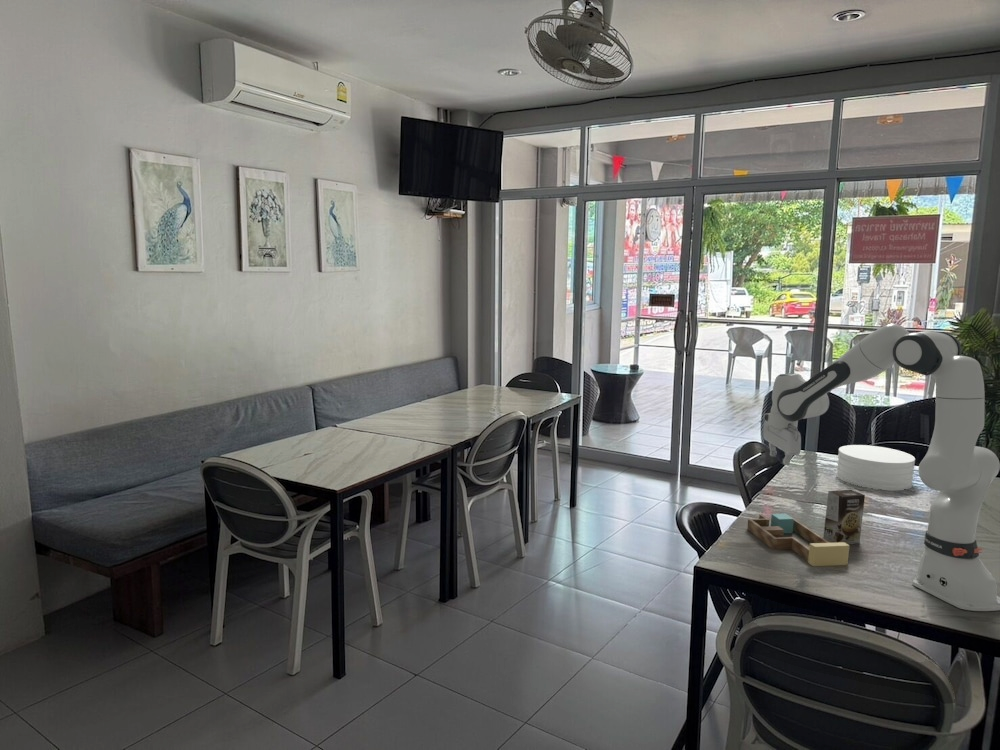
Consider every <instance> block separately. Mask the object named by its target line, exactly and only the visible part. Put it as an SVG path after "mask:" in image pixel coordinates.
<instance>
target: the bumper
mask: <svg viewBox="0 0 1000 750" xmlns="http://www.w3.org/2000/svg"><path fill="white" fill-rule="evenodd" d="M808 548H809V557H808V561H807V563H808V564H809V565H810V566H812V567H823V566H824V567H826V566H847V565H848V564H849V563H848V562H849V554H850V553H849V552H850V544H846V543H845V542H837V543H831V542H830V543H811V542H809V546H808Z"/></svg>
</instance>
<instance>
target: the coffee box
mask: <svg viewBox="0 0 1000 750" xmlns="http://www.w3.org/2000/svg"><path fill="white" fill-rule="evenodd" d="M865 497H866V495H865V494H864V493H860V492H858V491H855V490H852V489H842V490H841V489H838V490H828V491H827V502H826V509H825V517H824V518H825V519H824V527H823V535H822V537H823V538H824V539H826V540H827V541H829V542H830V543H837V542H845V543H846V544H848V545H854V544H860V542H861V535H862V534H861V533H862V524H863V515H864V506H865Z"/></svg>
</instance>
